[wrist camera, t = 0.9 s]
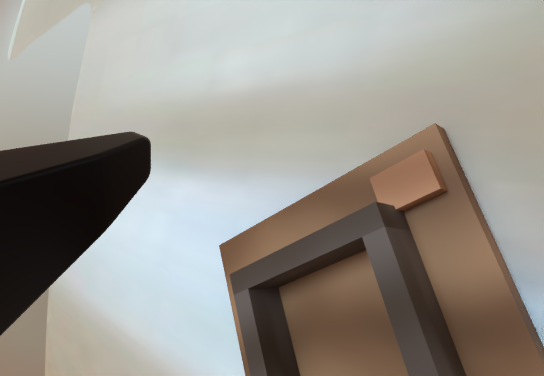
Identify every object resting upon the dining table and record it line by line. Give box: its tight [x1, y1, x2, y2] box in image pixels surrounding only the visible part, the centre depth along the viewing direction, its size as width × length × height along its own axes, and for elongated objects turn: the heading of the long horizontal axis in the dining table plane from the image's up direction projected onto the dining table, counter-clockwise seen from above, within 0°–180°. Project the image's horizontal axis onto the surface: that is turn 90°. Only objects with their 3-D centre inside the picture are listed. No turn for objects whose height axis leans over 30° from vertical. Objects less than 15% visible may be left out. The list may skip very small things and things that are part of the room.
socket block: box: [219, 124, 544, 376], centre depth 22 cm, size 16×16×4 cm
